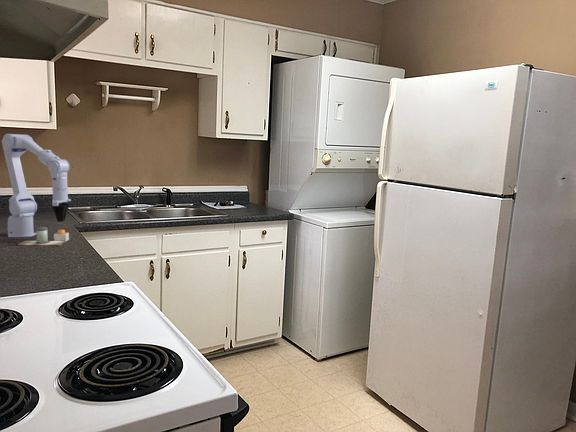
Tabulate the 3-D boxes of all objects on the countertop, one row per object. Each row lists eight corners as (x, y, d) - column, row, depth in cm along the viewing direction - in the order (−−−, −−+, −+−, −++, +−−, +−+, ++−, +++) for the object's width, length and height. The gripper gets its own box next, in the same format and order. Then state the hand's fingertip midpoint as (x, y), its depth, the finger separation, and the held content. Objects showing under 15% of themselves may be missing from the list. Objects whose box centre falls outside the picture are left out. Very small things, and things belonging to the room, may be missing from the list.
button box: (54, 241, 201) (53, 234, 201) (57, 239, 206) (57, 232, 206) (65, 241, 202) (65, 234, 202) (68, 239, 207) (68, 232, 206)
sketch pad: (17, 245, 192) (17, 244, 191) (25, 241, 199) (24, 240, 199) (60, 245, 194) (60, 244, 194) (66, 241, 202) (65, 240, 202)
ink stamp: (35, 243, 194) (34, 228, 193) (38, 241, 198) (38, 226, 197) (45, 243, 195) (45, 228, 194) (49, 241, 199) (48, 227, 198)
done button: (56, 237, 202) (56, 230, 202) (59, 236, 205) (58, 229, 205) (64, 237, 203) (63, 230, 202) (66, 236, 205) (65, 229, 205)
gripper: (65, 190, 194) (65, 223, 196) (75, 187, 209) (75, 218, 211) (46, 190, 193) (47, 223, 195) (57, 186, 207) (58, 218, 209)
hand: (61, 220), depth 203 cm, fingers closed
